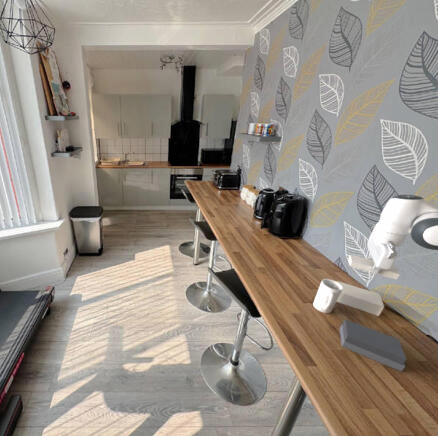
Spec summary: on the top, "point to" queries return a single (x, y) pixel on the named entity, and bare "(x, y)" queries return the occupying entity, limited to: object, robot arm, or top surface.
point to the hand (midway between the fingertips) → (371, 267)
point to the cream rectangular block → (368, 264)
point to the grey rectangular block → (372, 344)
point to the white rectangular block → (360, 299)
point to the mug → (327, 295)
